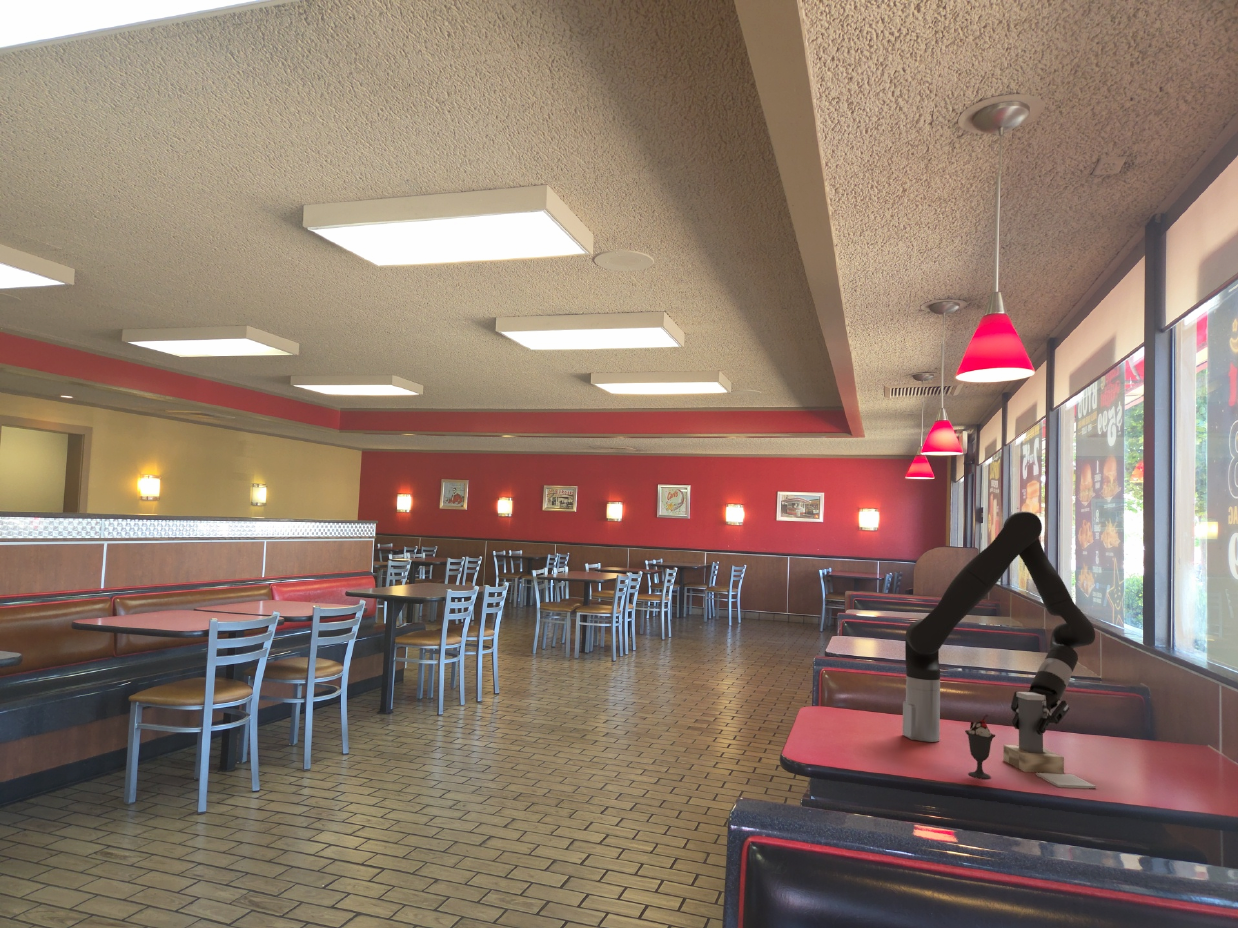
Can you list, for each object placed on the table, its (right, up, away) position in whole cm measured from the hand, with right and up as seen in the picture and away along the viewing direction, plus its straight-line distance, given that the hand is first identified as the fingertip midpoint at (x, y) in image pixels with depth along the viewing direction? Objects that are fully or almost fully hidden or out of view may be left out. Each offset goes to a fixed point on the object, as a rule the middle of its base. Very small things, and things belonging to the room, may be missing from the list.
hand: (1026, 729), depth 198 cm
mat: (+3, -8, -12) cm, 15 cm away
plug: (+1, -8, 0) cm, 8 cm away
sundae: (-17, -8, -11) cm, 22 cm away
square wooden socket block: (+1, -9, 0) cm, 9 cm away
